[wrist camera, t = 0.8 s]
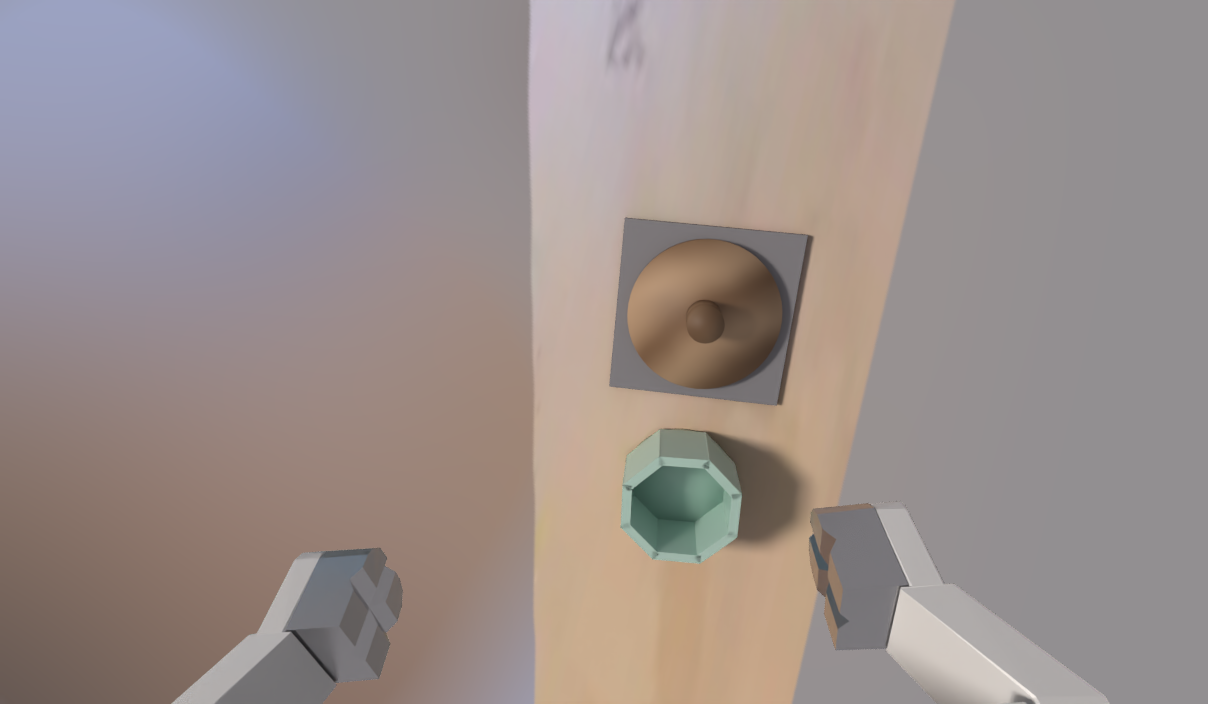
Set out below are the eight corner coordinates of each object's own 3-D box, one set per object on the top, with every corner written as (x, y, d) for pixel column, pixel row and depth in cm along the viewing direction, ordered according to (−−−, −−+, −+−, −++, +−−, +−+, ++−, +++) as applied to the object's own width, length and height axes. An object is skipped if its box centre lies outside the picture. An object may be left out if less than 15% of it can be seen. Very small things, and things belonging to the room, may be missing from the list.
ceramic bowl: (754, 483, 56) (764, 518, 50) (674, 541, 59) (674, 581, 53) (684, 407, 55) (686, 435, 49) (604, 471, 57) (597, 504, 52)
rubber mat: (775, 403, 54) (776, 405, 53) (609, 384, 55) (609, 386, 54) (806, 234, 49) (807, 235, 49) (625, 217, 50) (624, 218, 50)
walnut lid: (812, 320, 51) (823, 332, 47) (695, 413, 54) (697, 431, 51) (712, 205, 49) (715, 207, 45) (597, 309, 52) (591, 319, 49)
